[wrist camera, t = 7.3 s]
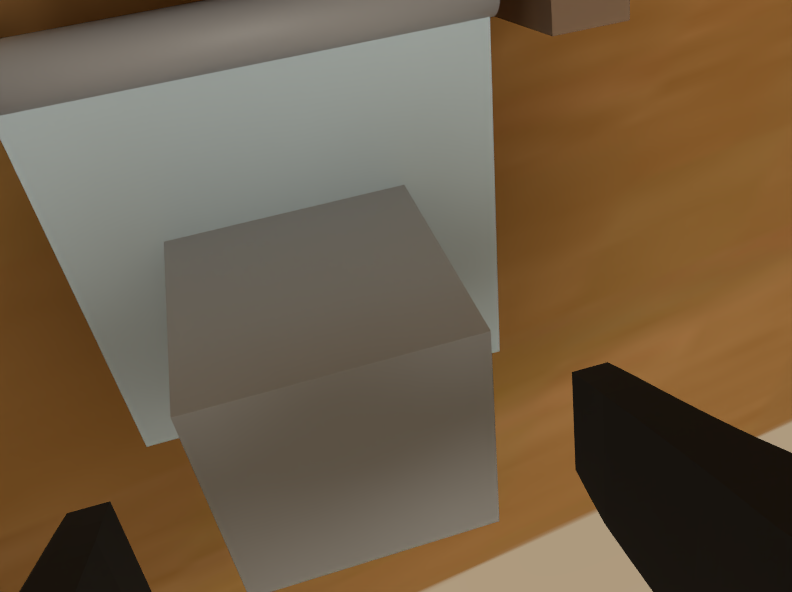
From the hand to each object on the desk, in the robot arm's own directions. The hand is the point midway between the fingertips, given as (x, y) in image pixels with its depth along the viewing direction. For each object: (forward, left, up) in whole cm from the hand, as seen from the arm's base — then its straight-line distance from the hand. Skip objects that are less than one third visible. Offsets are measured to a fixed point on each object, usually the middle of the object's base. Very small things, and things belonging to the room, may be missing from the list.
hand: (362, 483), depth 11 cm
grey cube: (0, 0, -6) cm, 6 cm away
